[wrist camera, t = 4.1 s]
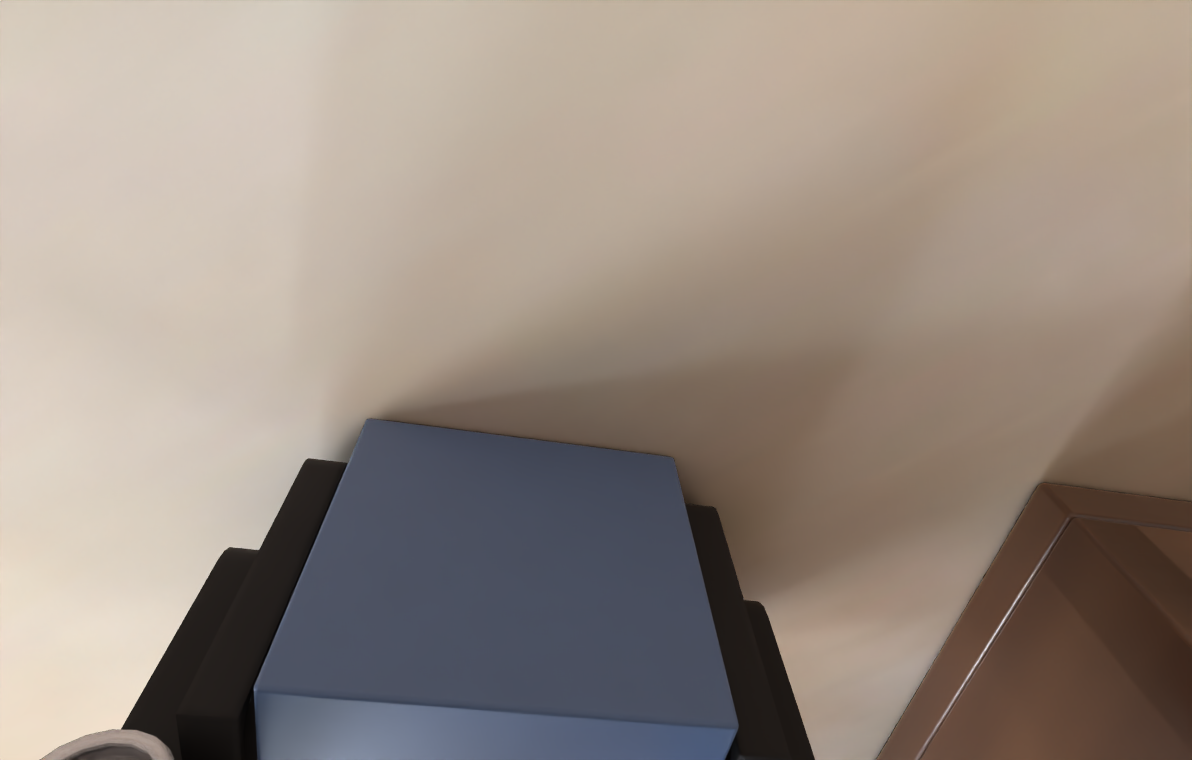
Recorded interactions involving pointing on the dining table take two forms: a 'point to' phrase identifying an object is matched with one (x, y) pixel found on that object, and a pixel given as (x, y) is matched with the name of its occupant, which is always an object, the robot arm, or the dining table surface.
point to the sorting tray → (1068, 640)
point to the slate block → (497, 610)
